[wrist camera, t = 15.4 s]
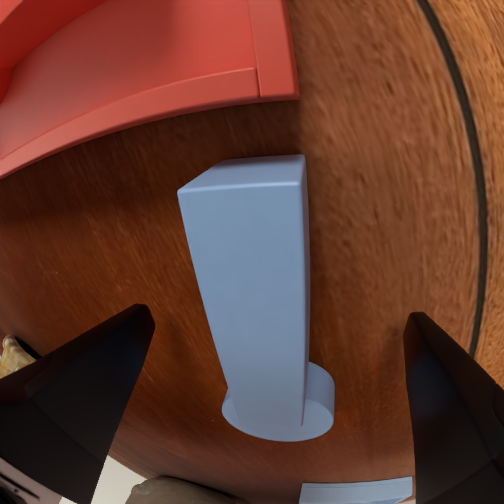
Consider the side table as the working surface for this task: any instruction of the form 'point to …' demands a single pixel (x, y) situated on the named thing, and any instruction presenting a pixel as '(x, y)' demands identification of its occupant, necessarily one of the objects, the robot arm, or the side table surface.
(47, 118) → the red tray
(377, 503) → the blue tray
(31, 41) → the red spoon
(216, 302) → the blue spoon
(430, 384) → the robot arm
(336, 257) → the side table surface
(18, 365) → the seashell
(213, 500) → the bowl
